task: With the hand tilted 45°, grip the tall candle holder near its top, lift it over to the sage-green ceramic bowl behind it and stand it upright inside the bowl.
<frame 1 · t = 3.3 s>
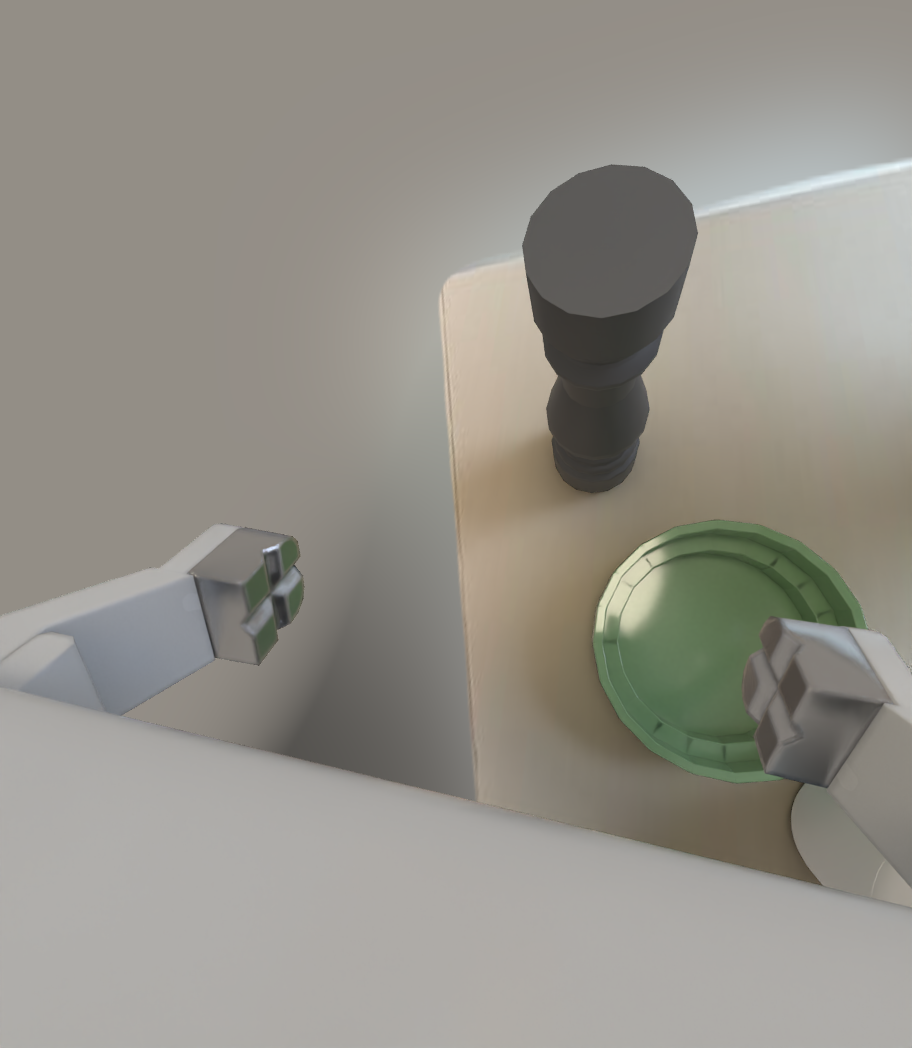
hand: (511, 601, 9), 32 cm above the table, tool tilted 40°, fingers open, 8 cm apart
bowl: (706, 641, 38), on the table
candle holder: (594, 455, 42), on the table
pill bottle: (854, 828, 34), on the table
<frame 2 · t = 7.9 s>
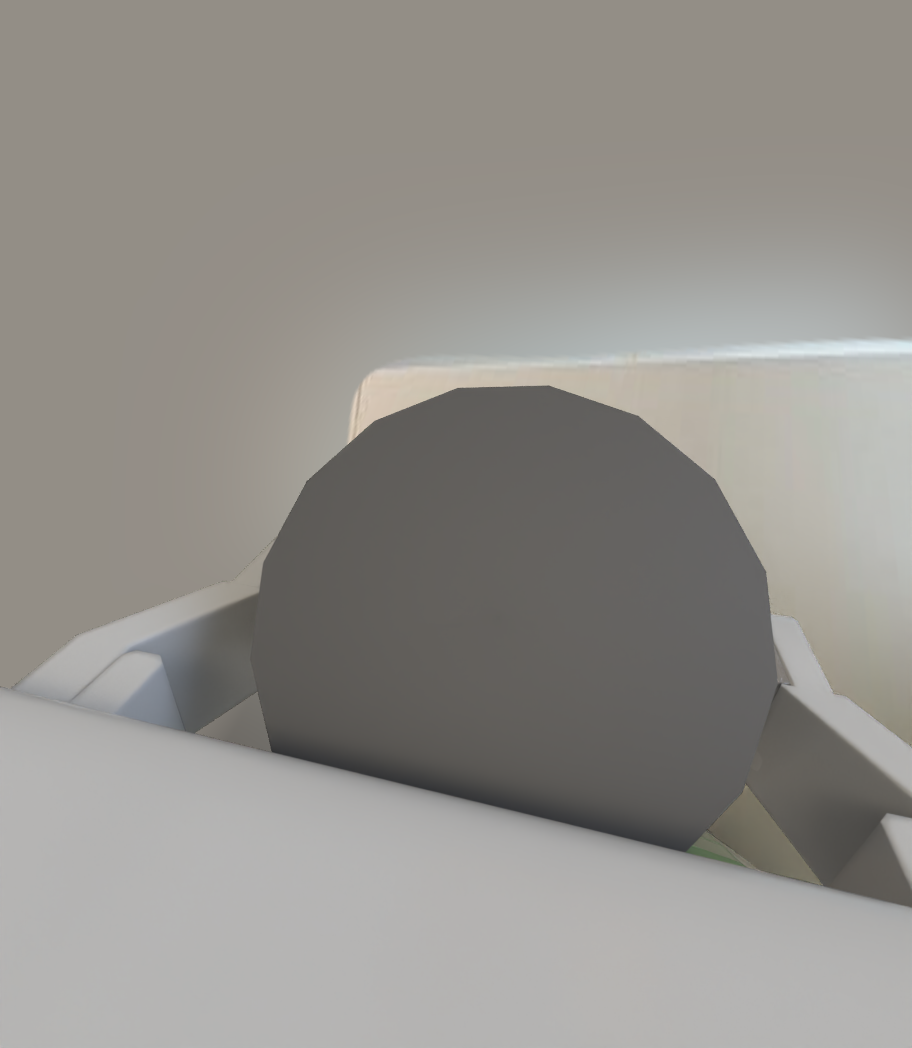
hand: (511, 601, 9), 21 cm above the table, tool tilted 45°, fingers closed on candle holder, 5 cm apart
bowl: (639, 988, 25), on the table
candle holder: (520, 657, 30), on the table, touching gripper
when the fingers open (22 cm above the table, at t = 16.4 s): candle holder stays where it is, resting on bowl.
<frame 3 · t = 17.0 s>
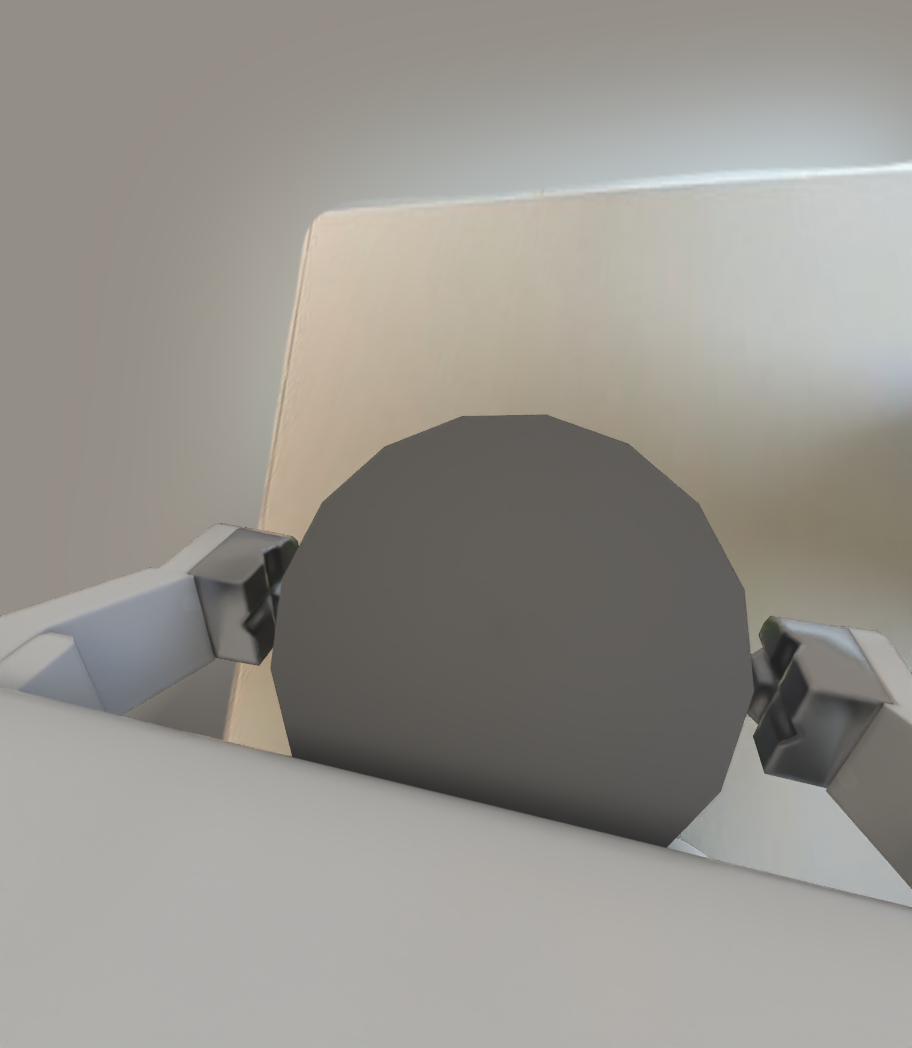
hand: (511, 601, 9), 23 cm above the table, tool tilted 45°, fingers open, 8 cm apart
candle holder: (521, 659, 30), point 1 cm above the table, touching bowl
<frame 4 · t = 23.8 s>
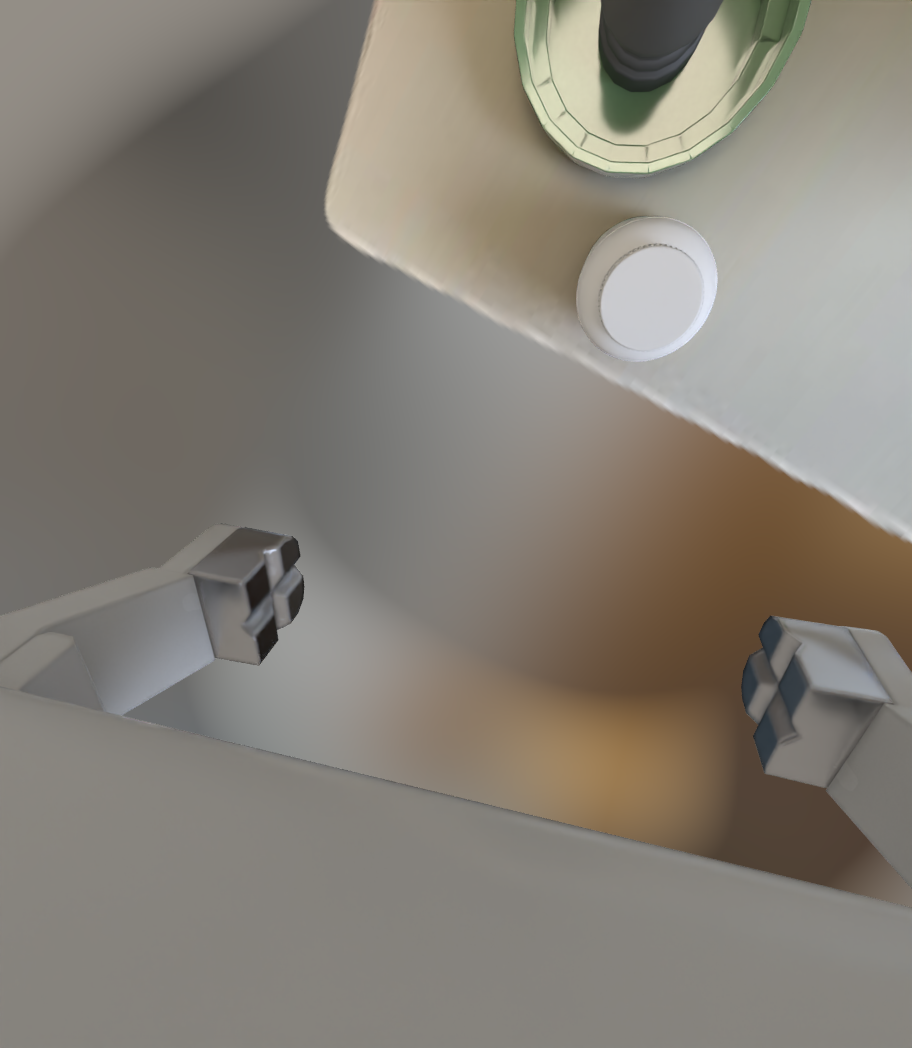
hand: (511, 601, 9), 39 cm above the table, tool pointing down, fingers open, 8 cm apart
bowl: (648, 32, 34), on the table
candle holder: (649, 30, 33), point 1 cm above the table, touching bowl
pill bottle: (634, 275, 41), on the table
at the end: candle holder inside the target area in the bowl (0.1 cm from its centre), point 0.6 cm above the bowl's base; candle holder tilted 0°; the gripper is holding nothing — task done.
